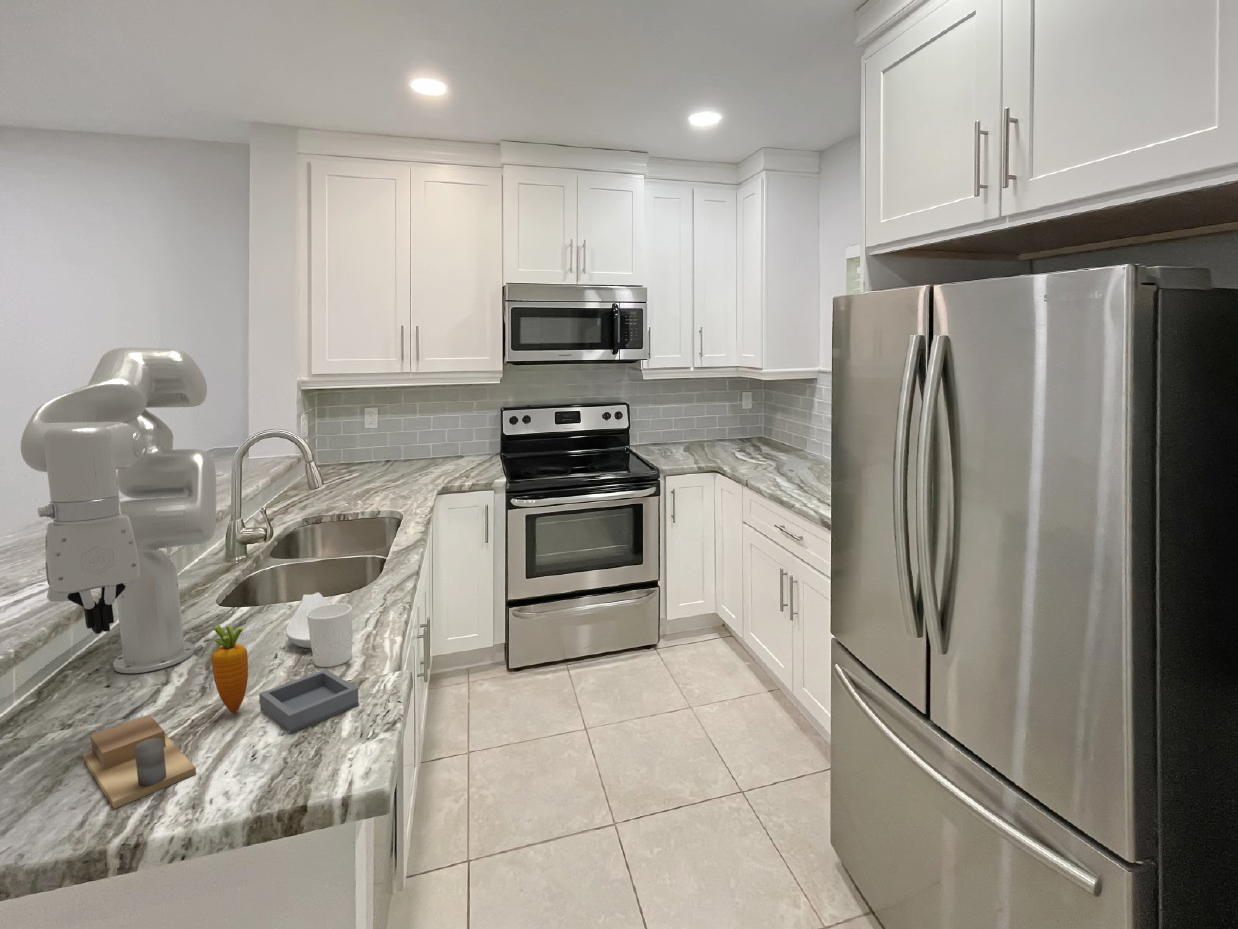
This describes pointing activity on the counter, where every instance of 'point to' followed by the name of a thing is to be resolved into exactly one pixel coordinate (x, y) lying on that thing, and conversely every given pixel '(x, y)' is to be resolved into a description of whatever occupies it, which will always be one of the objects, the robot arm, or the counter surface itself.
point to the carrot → (230, 668)
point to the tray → (308, 700)
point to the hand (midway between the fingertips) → (100, 630)
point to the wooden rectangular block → (124, 740)
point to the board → (128, 775)
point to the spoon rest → (303, 620)
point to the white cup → (330, 634)
